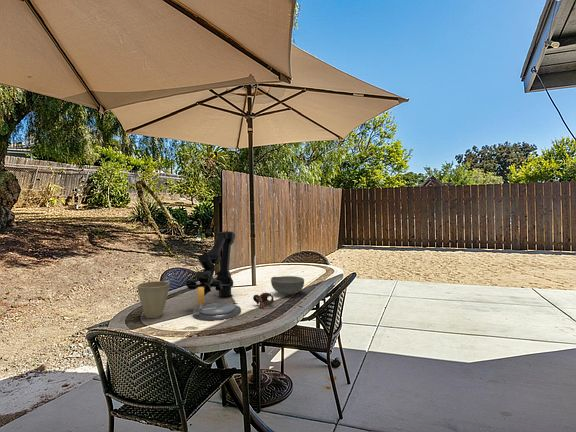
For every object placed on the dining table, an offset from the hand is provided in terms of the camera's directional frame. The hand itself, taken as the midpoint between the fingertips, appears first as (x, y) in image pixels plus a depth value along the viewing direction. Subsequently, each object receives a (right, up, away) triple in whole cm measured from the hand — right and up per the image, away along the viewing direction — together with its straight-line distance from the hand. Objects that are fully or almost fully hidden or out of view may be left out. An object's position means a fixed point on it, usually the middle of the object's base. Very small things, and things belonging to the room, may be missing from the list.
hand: (199, 299), depth 176 cm
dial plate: (+9, -7, +2) cm, 11 cm away
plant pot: (-22, -8, -1) cm, 23 cm away
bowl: (+44, -6, +38) cm, 59 cm away
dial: (+9, -6, +2) cm, 10 cm away
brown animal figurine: (+31, -7, +13) cm, 35 cm away
